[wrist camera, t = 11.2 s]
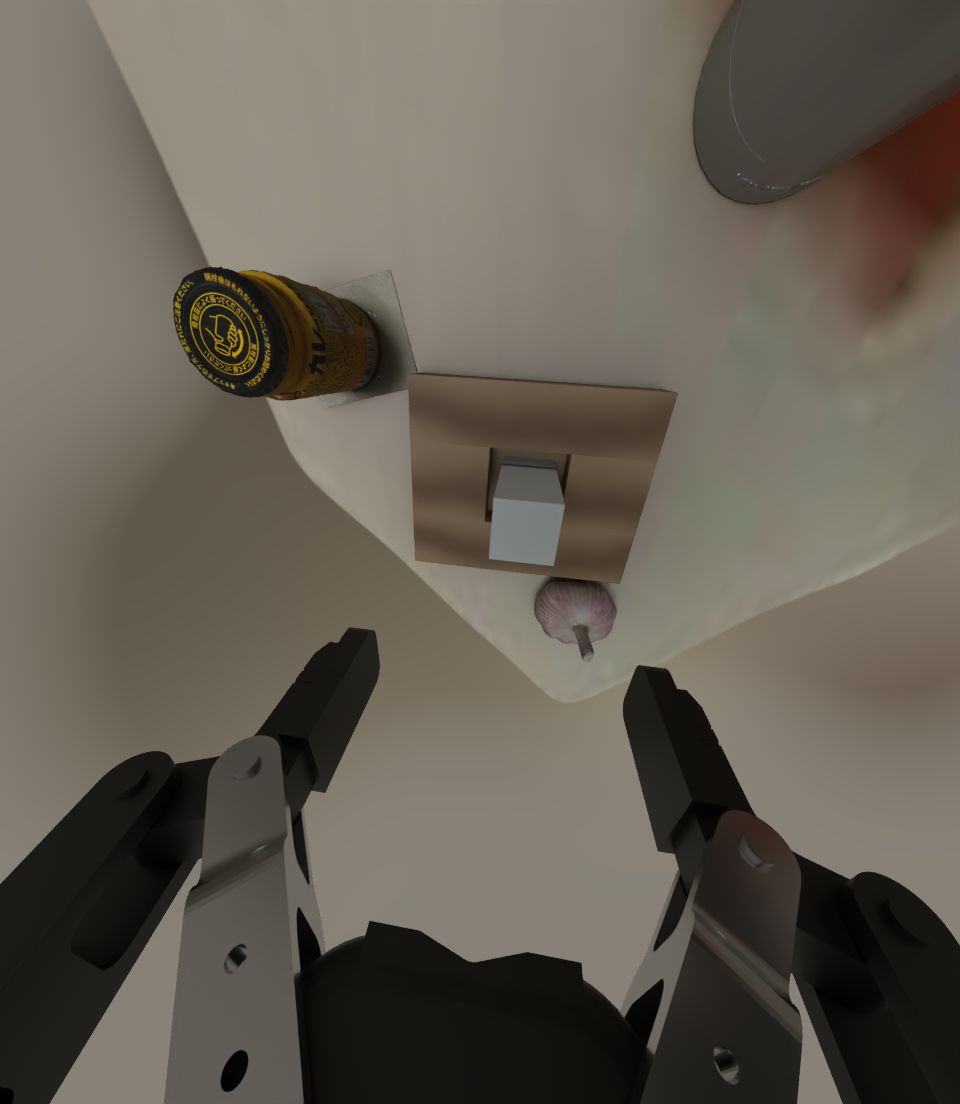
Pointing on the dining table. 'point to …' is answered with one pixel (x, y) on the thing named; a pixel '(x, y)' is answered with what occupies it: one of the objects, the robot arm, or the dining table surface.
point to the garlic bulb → (575, 614)
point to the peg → (526, 512)
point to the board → (542, 433)
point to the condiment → (293, 335)
